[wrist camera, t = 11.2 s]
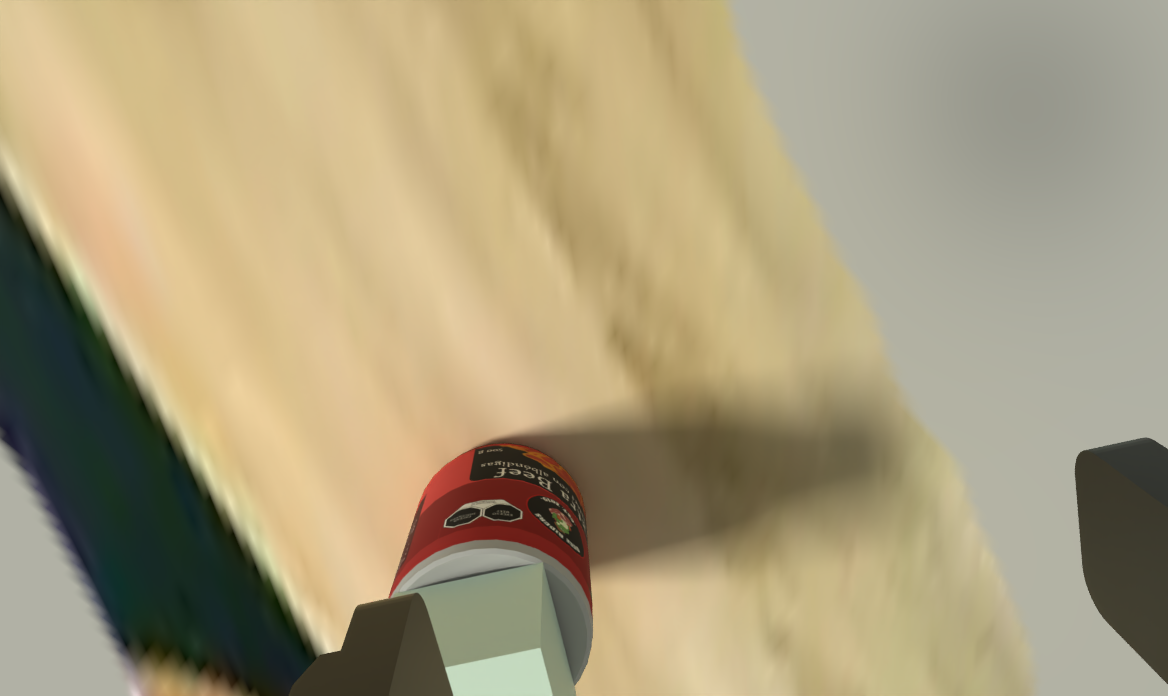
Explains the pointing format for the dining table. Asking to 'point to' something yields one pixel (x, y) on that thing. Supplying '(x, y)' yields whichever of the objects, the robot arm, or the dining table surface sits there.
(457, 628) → the sage block
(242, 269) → the dining table surface
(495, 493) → the canned food
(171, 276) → the dining table surface
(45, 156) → the dining table surface
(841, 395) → the dining table surface
